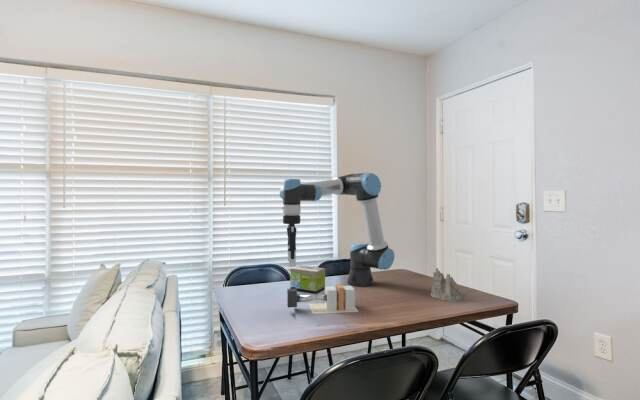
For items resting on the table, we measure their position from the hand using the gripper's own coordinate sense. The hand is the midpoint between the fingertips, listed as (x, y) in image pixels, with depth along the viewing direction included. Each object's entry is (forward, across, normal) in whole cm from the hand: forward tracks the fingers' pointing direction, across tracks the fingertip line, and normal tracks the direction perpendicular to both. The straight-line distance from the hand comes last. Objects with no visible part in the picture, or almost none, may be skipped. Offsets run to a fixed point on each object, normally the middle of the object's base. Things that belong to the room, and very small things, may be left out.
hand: (291, 263), depth 154 cm
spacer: (+20, 0, +21) cm, 29 cm away
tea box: (+22, -23, +9) cm, 33 cm away
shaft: (+18, 0, +7) cm, 20 cm away
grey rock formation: (+21, -15, +79) cm, 83 cm away
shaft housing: (+21, 0, +18) cm, 28 cm away
